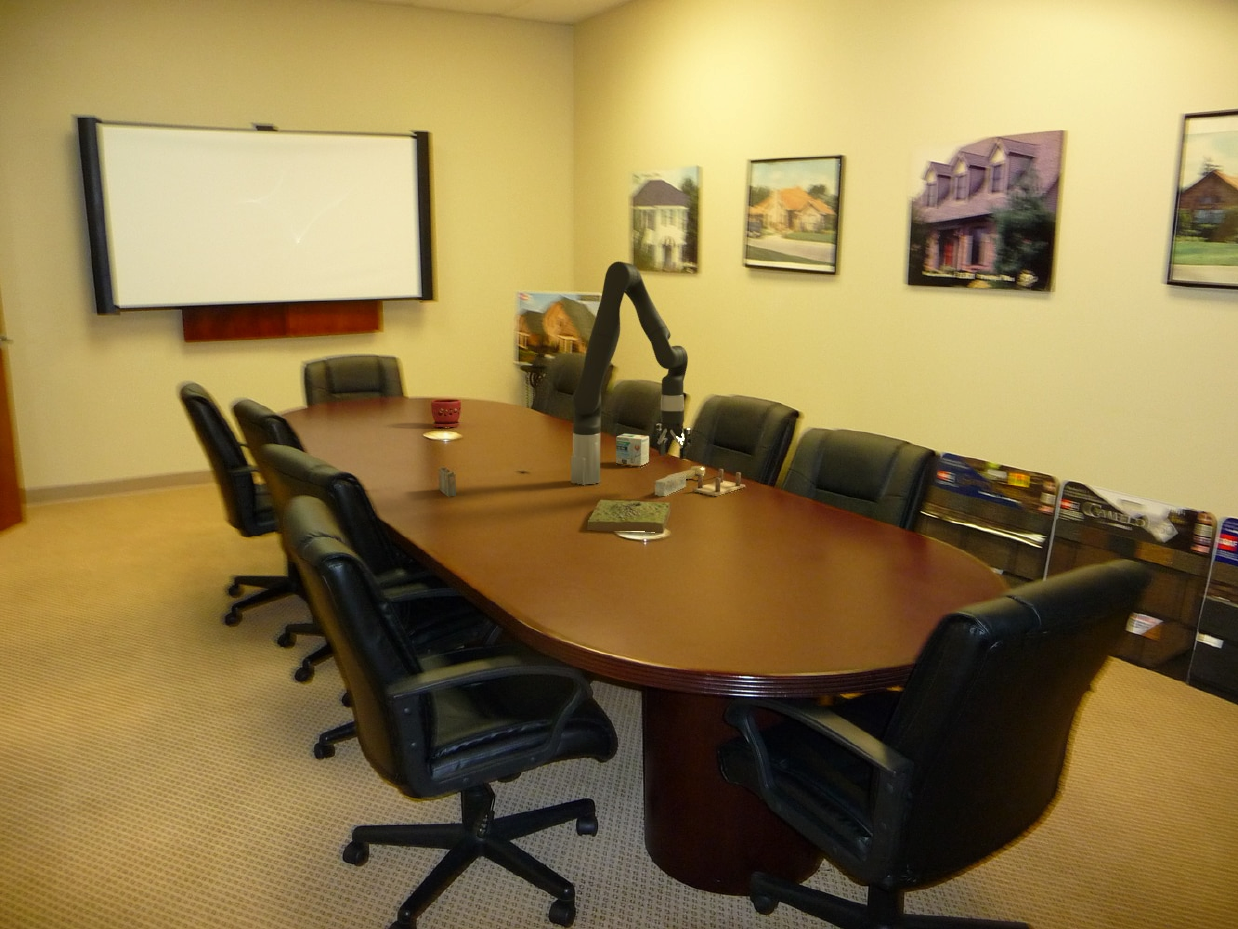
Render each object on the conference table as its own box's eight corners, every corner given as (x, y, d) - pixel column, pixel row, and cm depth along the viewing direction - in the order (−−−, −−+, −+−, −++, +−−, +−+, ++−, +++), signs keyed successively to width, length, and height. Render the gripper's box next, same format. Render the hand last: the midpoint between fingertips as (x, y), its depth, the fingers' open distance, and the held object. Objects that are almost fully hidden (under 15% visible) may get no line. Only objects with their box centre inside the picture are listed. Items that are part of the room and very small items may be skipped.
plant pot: (466, 427, 432) (465, 400, 429) (438, 430, 425) (437, 403, 422) (454, 423, 442) (453, 397, 440) (427, 425, 436) (426, 399, 433)
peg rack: (715, 497, 314) (716, 480, 313) (692, 491, 320) (692, 475, 319) (745, 488, 325) (745, 472, 324) (722, 483, 332) (722, 467, 330)
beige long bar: (673, 484, 328) (674, 476, 327) (662, 482, 331) (662, 473, 331) (707, 475, 341) (708, 467, 341) (696, 473, 345) (696, 465, 344)
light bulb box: (615, 464, 360) (615, 436, 358) (623, 461, 366) (624, 433, 364) (641, 467, 355) (641, 438, 353) (649, 464, 361) (649, 435, 359)
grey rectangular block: (664, 497, 314) (664, 482, 312) (654, 496, 315) (655, 481, 314) (685, 489, 325) (686, 474, 324) (676, 487, 327) (677, 473, 326)
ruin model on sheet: (457, 497, 313) (456, 468, 311) (448, 498, 311) (447, 469, 309) (448, 489, 323) (447, 461, 321) (439, 490, 321) (438, 461, 319)
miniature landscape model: (586, 532, 276) (586, 515, 275) (600, 510, 299) (600, 494, 298) (663, 535, 273) (663, 518, 272) (670, 513, 296) (671, 497, 295)
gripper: (648, 407, 316) (648, 456, 320) (682, 412, 307) (682, 462, 310) (663, 404, 322) (662, 452, 325) (697, 409, 312) (696, 458, 316)
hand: (672, 457), depth 318 cm, fingers open, 8 cm apart
